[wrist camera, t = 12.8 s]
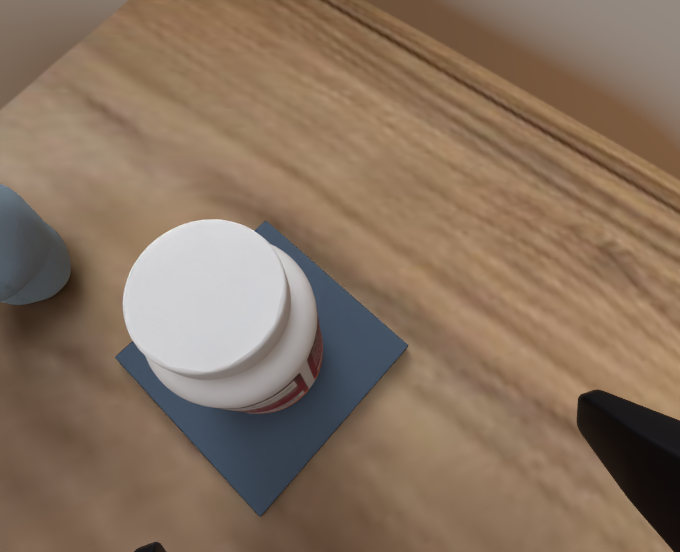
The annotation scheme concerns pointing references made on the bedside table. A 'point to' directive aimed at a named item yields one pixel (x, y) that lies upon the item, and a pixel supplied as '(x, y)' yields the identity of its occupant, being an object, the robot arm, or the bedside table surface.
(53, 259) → the wolf head
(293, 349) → the pill bottle
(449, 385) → the bedside table surface
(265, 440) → the mat
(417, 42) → the bedside table surface
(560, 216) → the bedside table surface
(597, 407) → the robot arm
